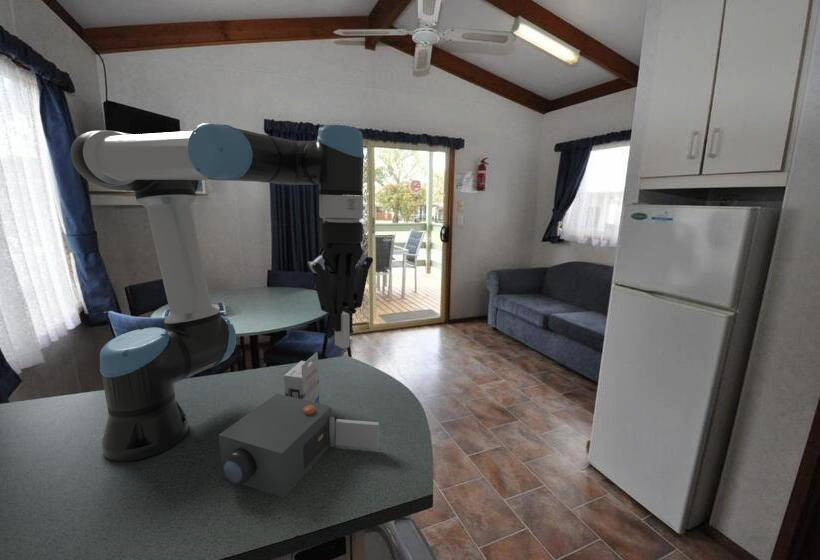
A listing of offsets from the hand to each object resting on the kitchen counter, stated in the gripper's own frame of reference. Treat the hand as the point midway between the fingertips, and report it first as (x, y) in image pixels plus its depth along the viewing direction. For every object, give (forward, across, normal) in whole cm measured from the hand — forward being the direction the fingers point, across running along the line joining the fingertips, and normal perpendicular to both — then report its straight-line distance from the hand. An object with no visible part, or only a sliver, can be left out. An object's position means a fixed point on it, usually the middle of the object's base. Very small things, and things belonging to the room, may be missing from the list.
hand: (342, 345), depth 70 cm
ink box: (+25, +3, +21) cm, 33 cm away
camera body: (+25, -10, +7) cm, 28 cm away
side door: (+24, +4, 0) cm, 24 cm away
